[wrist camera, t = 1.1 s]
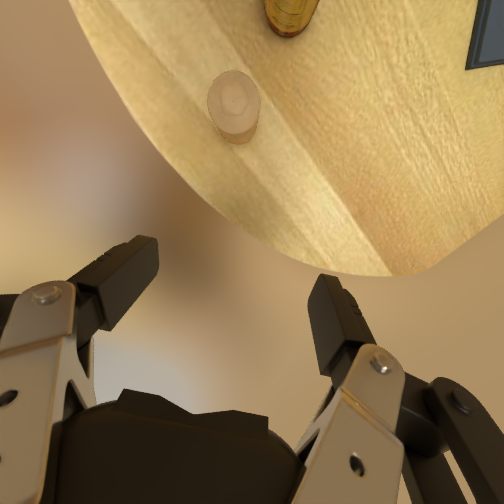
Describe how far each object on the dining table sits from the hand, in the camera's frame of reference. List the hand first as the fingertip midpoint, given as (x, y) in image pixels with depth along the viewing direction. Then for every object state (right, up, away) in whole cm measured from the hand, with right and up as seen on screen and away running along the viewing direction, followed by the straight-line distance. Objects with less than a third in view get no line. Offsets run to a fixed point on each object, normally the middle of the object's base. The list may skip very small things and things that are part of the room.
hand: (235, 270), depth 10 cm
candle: (-1, +19, +19) cm, 27 cm away
